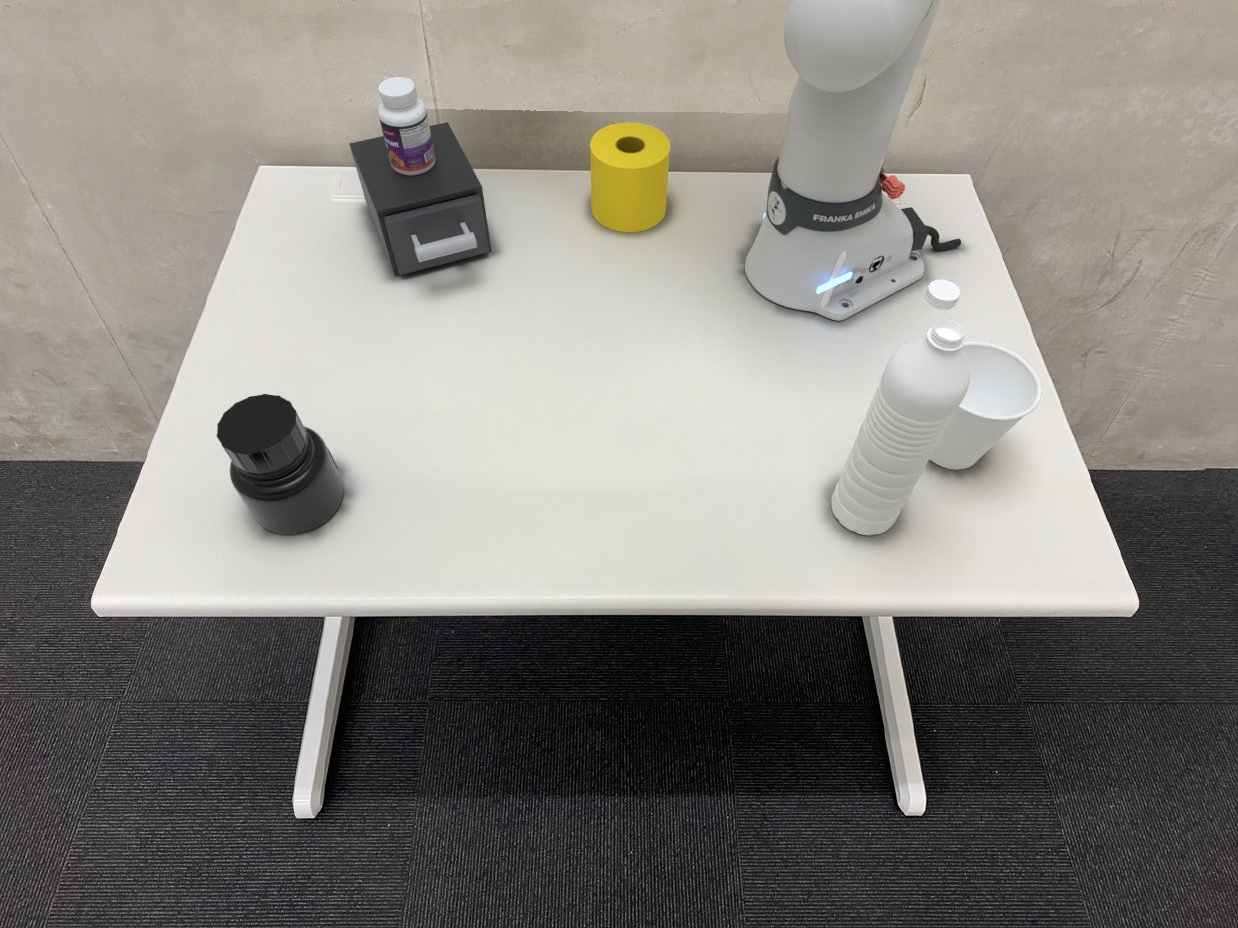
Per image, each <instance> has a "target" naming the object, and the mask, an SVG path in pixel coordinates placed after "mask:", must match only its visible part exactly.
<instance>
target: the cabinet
mask: <svg viewBox="0 0 1238 928" xmlns="http://www.w3.org/2000/svg"><path fill="white" fill-rule="evenodd" d="M429 127H430V132H431V137H432V143H433V148H434V153H435V164H434V166H433V167H432V168H431V169H430V170H429V171H427V172H425V173H422V174H419V175H403V174H400V173H398V172H396V171H395V170H394V169H393V168H392V166H391V163H390V160H389V156H388V152H387V148H386V144H385V140H384V136H383V135H382V136H381V135H380V136H376V137H372V138H368V139H363V140H358V141H354V142H350V143H349V144H348V145H349V148H350V151H351V155H352V158H353V163H354V165H355V169H356V173H357V175H358V179H359V182H360V186H361V189H362V193H363V196H364V200H365V203H366V207H367V210H368V212H369V215H370V218H371V220H372V222H373V225H374V228H375V231H376V234H377V235H378V237H379V240H380V243H381V245H382V248H383V251H384V253H385V256H386V258H387V261H388V263H389V266H390V269H391V271H392V273H393V276H394V277H396V276H401V275H400V274H399V271H398V268H397V265H396V261H395V257H394V254H393V250H392V247H391V243H390V239H389V236H388V232H387V228H386V225H385V221H384V217H385V215H388V214H392V213H396V212H400V211H404V210H409V209H413V208H417V207H421V206H425V205H429V204H433V203H438V202H442V201H446V200H450V199H454V198H458V197H462V196H466V195H470V196H472V195H476V194H478V195H479V197H480V199H481V202H482V209H483V216H484V222H485V229H486V235H487V242H488V249H489V252H492V244H491V237H490V232H489V231H490V230H489V225H488V218H487V211H486V205H485V198H484V191H483V185H482V183H481V181H480V180H479V178H478V176H477V174H476V172H475V170H474V168H473V166H472V165H471V163H470V161H469V159H468V157H467V156H466V154H465V152H464V150H463V148H462V146H461V145H460V142H459V141H458V138H457V137H456V135H455V133H454V132H453V129H452V127H451V125H450V124H449V122H448V121H446V122H442V123H437V124H431V125H429Z"/></svg>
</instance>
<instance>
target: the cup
mask: <svg viewBox="0 0 1238 928" xmlns="http://www.w3.org/2000/svg"><path fill="white" fill-rule="evenodd" d="M961 348H962V351H963V353H964V356H965V358H966V360H967V363H968V366H969V370H970V383H969V387H968V390H967V393H966V395H965V397H964V399H963V400H962V402H961V403H960V405H959V407H958V408H957V410H956V412H955V414H954V415H953V417H952V419H951V421H950V422H949V425H948V426H947V428H946V430H945V432H944V433H943V435H942V437H941V439H940V440H939V443H938V444H937V446H936V448H935V450H934V452H933V454H932V456H931V458H930V459H929V461H931V462H933V463H934V464H935V465H937V466H940V467H942V468H944V469H949V470H964V469H967V468H970V467H972V466H973V465H975V464H976V463H977V462H978V461H979V460H981V458H982V457H983V456H985V454H986V453H987V452H989V450H990V449H992V447H993V446H994V445H995V444H996V443H998V441H1000V440H1001V439H1002V438H1003V437H1004V436H1005V435H1006V434H1007V433H1008V432H1009V431H1010V430H1011V429H1013V427H1014V426H1015V425H1017V423H1019V421H1021V420H1022V419H1023V418H1025V417H1026V416H1028V415H1029V414H1031V413H1033V411H1034V410H1036V409H1037V408H1038V406H1039V404H1040V402H1041V401H1042V395H1043V386H1042V382H1041V379H1040V377H1039V374H1038V373H1037V372H1036V370H1035V368H1034V367H1032V365H1031V364H1030V362H1028V361H1027V360H1026V359H1024V357H1022V356H1021V355H1019V354H1018V353H1016V352H1014V351H1012V350H1011V349H1008V348H1007V347H1004V346H1002V345H998V344H995V343H992V342H987V341H979V340H977V341H976V340H975V341H973V340H970V341H969V340H968V341H964V344H963V346H962V347H961Z"/></svg>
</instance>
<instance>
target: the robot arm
mask: <svg viewBox="0 0 1238 928" xmlns="http://www.w3.org/2000/svg"><path fill="white" fill-rule="evenodd" d="M940 3H941V0H789V4H788V8H787V13H786V17H785V21H784V27H783V42H784V43H783V44H784V48H785V52H786V56H787V58H788V61H789V63H790V64H791V66H792V67H793V69H794V71H795V72H796V73H797V74H798V75H799V76H798V78H797V81H796V83H795V85H794V88H793V91H792V93H791V96H790V99H789V104H788V109H787V114H786V120H785V126H784V131H783V135H782V140H781V146H780V151H779V154H778V155H779V156H778V157H777V158H776V160H775V161H774V164H773V168H772V172H771V176H770V180H769V184H768V191H767V200H766V211H765V212H764V213H763V220H762V222H761V225H760V228H759V230H758V232H757V235H756V238H755V239H754V242H753V244H752V246H751V248H750V249H749V251H748V252H747V255H746V257H745V261H744V271H745V275H746V278H747V280H748V281H749V283H750V285H751V286H752V287H753V288H754V290H756V291H757V292H758V293H759V294H760V295H761V296H763V297H764V298H766V299H767V300H769V301H771V302H773V303H774V304H777V305H780V306H783V307H785V308H789V309H794V310H798V311H805V312H810V313H811V312H812V313H815V314H818V315H820V316H822V317H825V318H828V319H829V320H833V321H836V322H837V321H839V322H840V321H844V320H846V319H848V318H850V317H852V316H854V315H856V314H857V313H859V312H861V311H862V310H865V309H866V308H869V307H870V306H872V305H874V304H876V303H878V302H880V301H882V300H884V299H885V298H887V297H889V296H892V295H893V294H895V293H897V292H899V291H901V290H903V289H904V288H906V287H908V286H910V285H912V284H914V283H915V282H918V281H919V280H920V279H922V278H923V277H924V273H925V263H924V260H923V258H922V256H921V253H920V252H919V251H922V250H923V248H924V246H925V243H926V241H927V238H928V236H929V237H930V246H931V248H932V249H933V250H936V251H939V252H940V251H947V250H950V249H954V248H957V247H960V246H961V245H962V240H961V238H959V237H958V238H954V239H951V240H948V241H944V242H940V233H939V231H938V230H937V229H936V228H935V227H933V226H931V225H927V224H925V223H924V221H923V220H922V219H921V218H920V216H919V215H918V213H917V212H916V211H915V209H914V208H913V207H912V206H911V207H904V208H900V206H898V205H897V204H896V203H895V202H894V201H893V200H897V199H899V198H901V196H902V195H903V194H904V193H905V191H906V185H905V183H904V182H902V181H901V180H899V179H898V177H897V176H896V175H893V174H892V175H889V176H888V175H887V174H886V173H885V169H884V168H883V163H884V160H885V158H886V154H887V150H888V147H889V144H890V141H891V138H892V135H893V132H894V128H895V125H896V122H897V119H898V116H899V114H900V111H901V108H902V105H903V103H904V100H905V98H906V96H907V93H908V90H909V87H910V85H911V82H912V79H913V76H914V74H915V72H916V69H917V66H918V64H919V61H920V57H921V55H922V53H923V49H924V47H925V44H926V42H927V39H928V36H929V34H930V31H931V28H932V25H933V23H934V20H935V17H936V14H937V11H938V8H939V6H940ZM883 192H884V193H883Z"/></svg>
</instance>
